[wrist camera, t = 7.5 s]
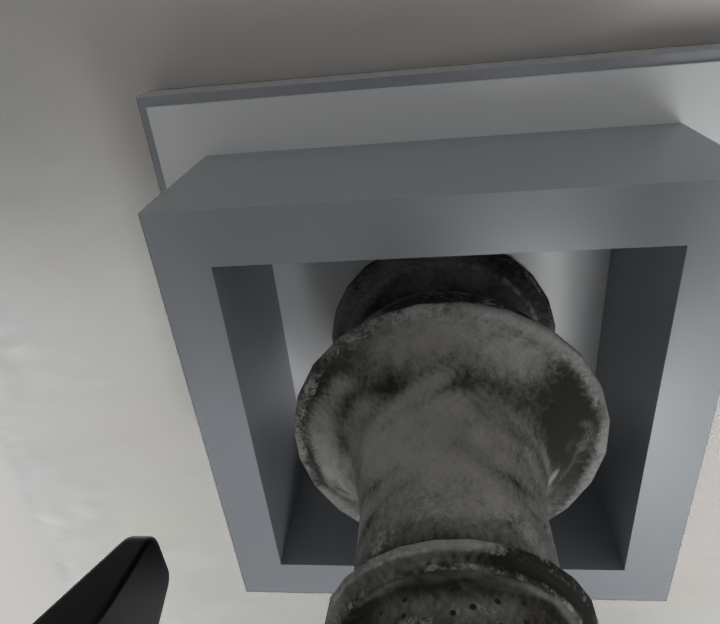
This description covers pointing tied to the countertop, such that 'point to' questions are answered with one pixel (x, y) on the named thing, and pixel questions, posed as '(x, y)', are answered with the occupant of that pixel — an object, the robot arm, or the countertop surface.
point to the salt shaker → (452, 443)
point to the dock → (438, 239)
